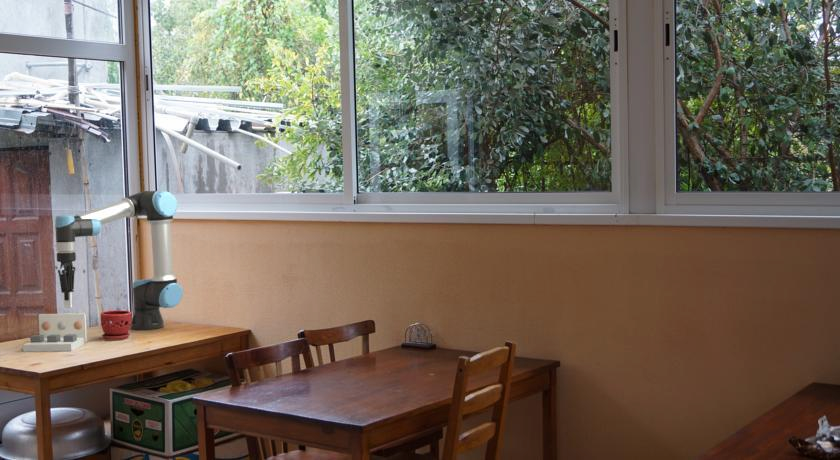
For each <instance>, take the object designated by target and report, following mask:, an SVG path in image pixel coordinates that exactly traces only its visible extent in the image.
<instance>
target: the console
mask: <svg viewBox="0 0 840 460" xmlns="http://www.w3.org/2000/svg"><path fill="white" fill-rule="evenodd" d="M84 344H85V341H84V338H77V340H76V341H74V342H64V338H60V341H58V342H47V338H44V341H43V342H36V343H31V341H29V342H27V343H24V344H23V345H22V348H23V353H31V352H32V353H34V352H36V353H37V352H39V353H41V352H42V353H43V352H73V351H74V350H77V349H78V348H80V347H82V346H84Z"/></svg>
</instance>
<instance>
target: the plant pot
mask: <svg viewBox="0 0 840 460" xmlns="http://www.w3.org/2000/svg"><path fill="white" fill-rule="evenodd" d="M132 317H133V315H132V311H130V310H119V309H118V310H107V311H102V312H101V313H100V326H101V329H102V332H103V334H102V335H101V336H102V339H105V340H106V341H120V340H125V339H127V338H129V336H130V335H131V334H130V333H129V331H130V329H131V321H132Z"/></svg>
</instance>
